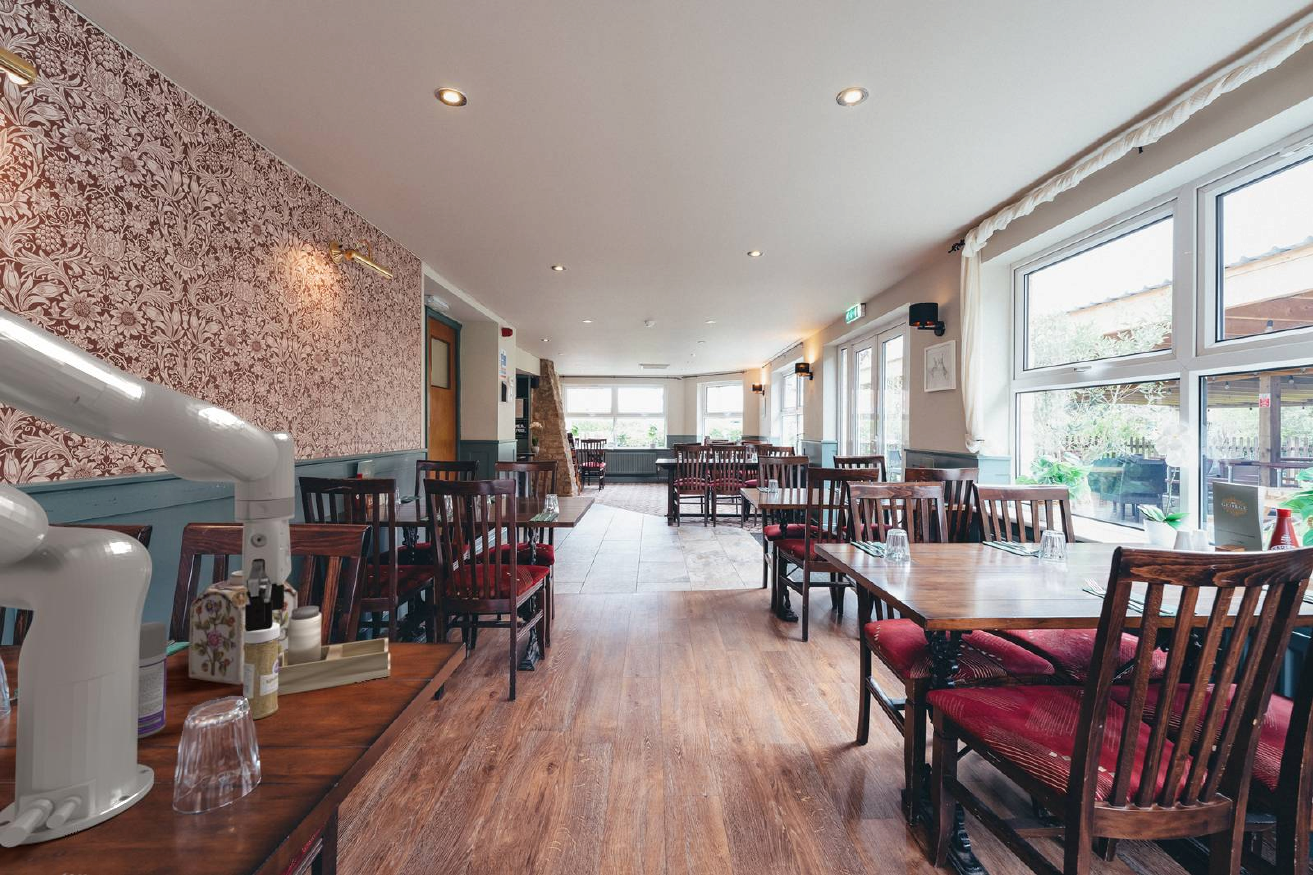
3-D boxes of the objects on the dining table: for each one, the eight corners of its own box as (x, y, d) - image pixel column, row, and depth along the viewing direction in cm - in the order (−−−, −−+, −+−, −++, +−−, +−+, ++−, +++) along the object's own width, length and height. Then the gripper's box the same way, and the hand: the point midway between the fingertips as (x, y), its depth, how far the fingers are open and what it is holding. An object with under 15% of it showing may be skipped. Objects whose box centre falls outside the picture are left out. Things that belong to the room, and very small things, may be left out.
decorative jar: (185, 679, 95) (188, 576, 95) (250, 654, 106) (252, 563, 106) (239, 686, 92) (241, 581, 92) (299, 660, 103) (300, 566, 104)
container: (131, 725, 79) (134, 623, 79) (171, 720, 81) (173, 620, 81) (112, 742, 75) (115, 634, 75) (155, 736, 76) (157, 630, 76)
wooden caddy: (390, 677, 96) (391, 606, 96) (268, 697, 88) (269, 619, 88) (390, 660, 104) (391, 594, 104) (277, 677, 96) (278, 606, 96)
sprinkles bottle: (277, 715, 82) (279, 627, 82) (240, 724, 80) (242, 633, 80) (278, 703, 86) (280, 619, 86) (243, 711, 84) (244, 624, 84)
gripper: (284, 516, 78) (285, 634, 78) (302, 502, 93) (302, 600, 93) (219, 519, 74) (219, 643, 74) (248, 504, 90) (249, 606, 90)
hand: (265, 619), depth 84 cm, fingers open, 9 cm apart
